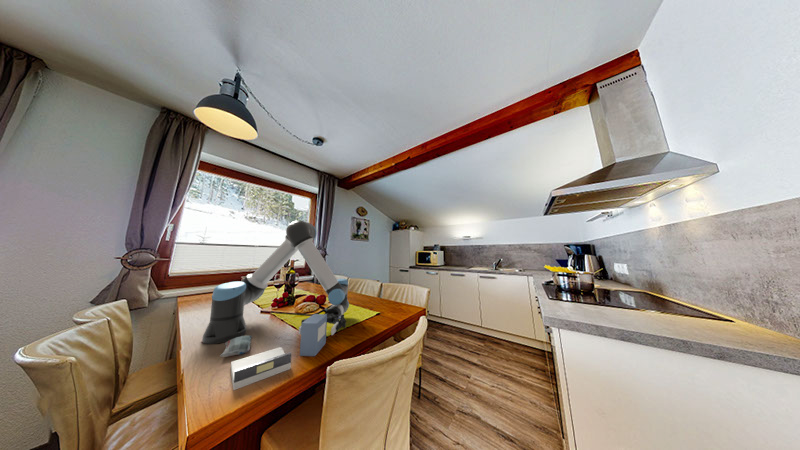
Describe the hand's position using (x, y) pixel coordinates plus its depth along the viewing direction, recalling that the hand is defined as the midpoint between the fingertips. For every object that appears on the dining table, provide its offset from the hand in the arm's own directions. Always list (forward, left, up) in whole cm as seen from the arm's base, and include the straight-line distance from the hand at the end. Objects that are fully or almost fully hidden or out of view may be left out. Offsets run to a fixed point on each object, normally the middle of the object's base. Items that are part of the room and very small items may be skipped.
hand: (315, 331), depth 81 cm
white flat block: (+1, -18, -7) cm, 20 cm away
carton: (0, 0, -7) cm, 7 cm away
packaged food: (-18, -24, -7) cm, 31 cm away
